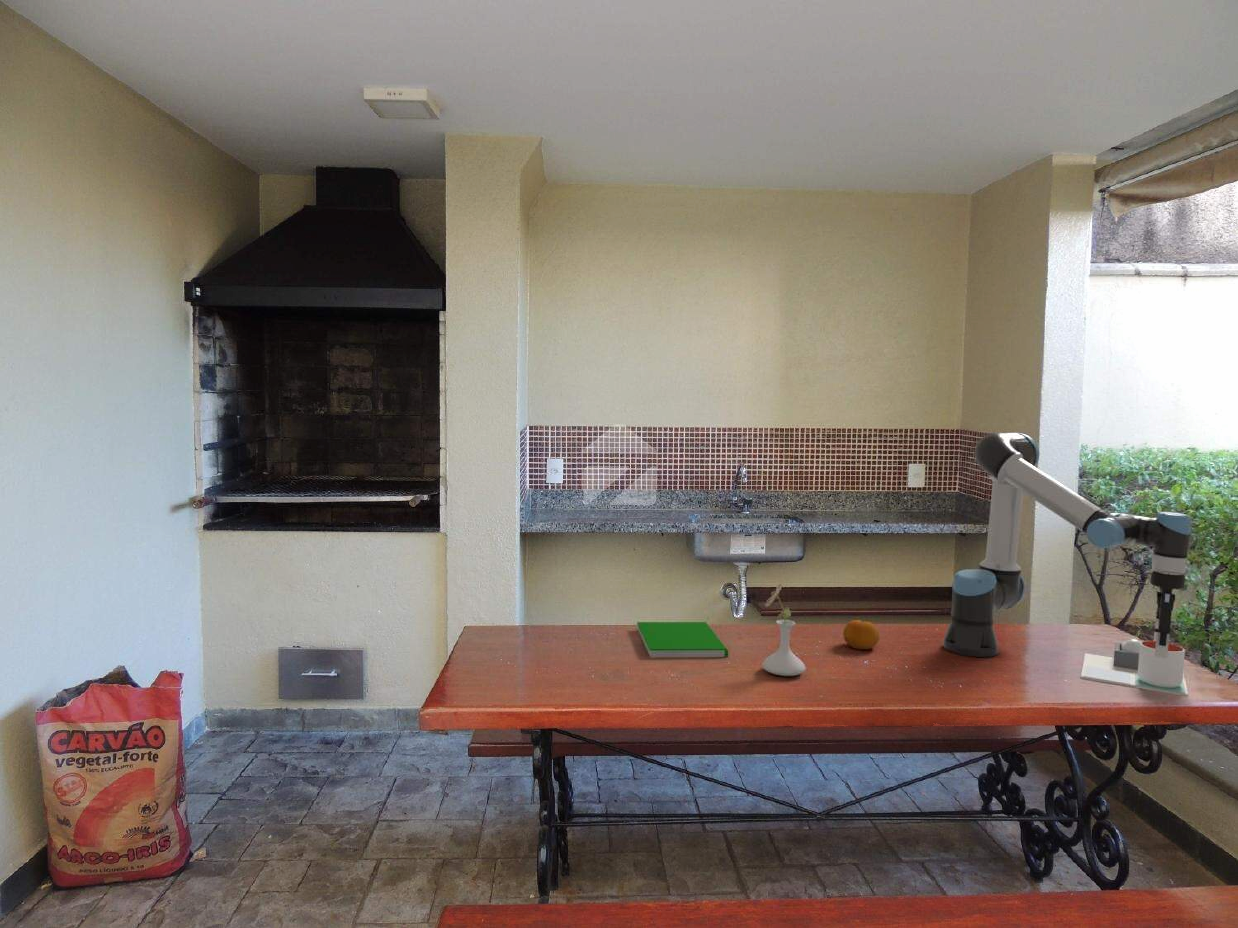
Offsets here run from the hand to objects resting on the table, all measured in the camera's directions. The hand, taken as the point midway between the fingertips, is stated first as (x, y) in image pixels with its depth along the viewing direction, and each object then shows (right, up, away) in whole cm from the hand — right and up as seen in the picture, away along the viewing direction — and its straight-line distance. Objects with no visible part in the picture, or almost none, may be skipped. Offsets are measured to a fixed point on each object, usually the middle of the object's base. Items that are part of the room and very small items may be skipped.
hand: (1159, 650), depth 223 cm
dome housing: (+3, -8, +16) cm, 18 cm away
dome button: (+3, -7, +16) cm, 18 cm away
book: (-125, -5, +28) cm, 128 cm away
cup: (0, -9, 0) cm, 9 cm away
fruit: (-71, -6, +28) cm, 77 cm away
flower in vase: (-100, -7, +2) cm, 100 cm away
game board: (-1, -9, +9) cm, 13 cm away
